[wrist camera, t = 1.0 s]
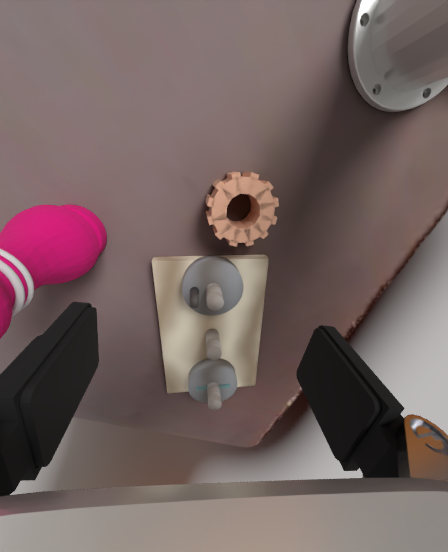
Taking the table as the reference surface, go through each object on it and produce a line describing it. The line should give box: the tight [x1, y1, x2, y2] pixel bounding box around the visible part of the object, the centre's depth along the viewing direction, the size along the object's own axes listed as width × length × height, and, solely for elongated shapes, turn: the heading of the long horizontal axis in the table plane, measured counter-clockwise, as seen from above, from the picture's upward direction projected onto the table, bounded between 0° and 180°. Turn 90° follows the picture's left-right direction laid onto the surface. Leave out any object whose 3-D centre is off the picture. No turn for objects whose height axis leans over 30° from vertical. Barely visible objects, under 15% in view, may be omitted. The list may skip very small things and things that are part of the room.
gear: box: [205, 172, 279, 247], centre depth 25 cm, size 7×7×4 cm
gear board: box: [152, 254, 269, 410], centre depth 30 cm, size 14×23×6 cm, turn 179°
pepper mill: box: [0, 205, 107, 338], centre depth 17 cm, size 7×7×20 cm
